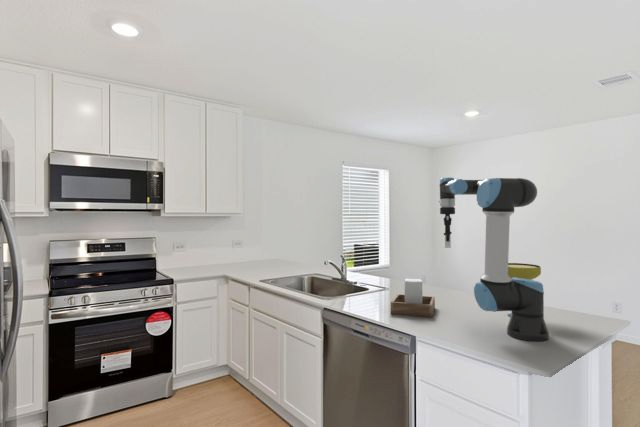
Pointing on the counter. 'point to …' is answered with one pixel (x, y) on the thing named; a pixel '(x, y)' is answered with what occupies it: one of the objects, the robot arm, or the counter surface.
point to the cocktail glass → (523, 272)
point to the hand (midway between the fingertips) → (447, 246)
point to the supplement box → (413, 291)
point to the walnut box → (413, 306)
